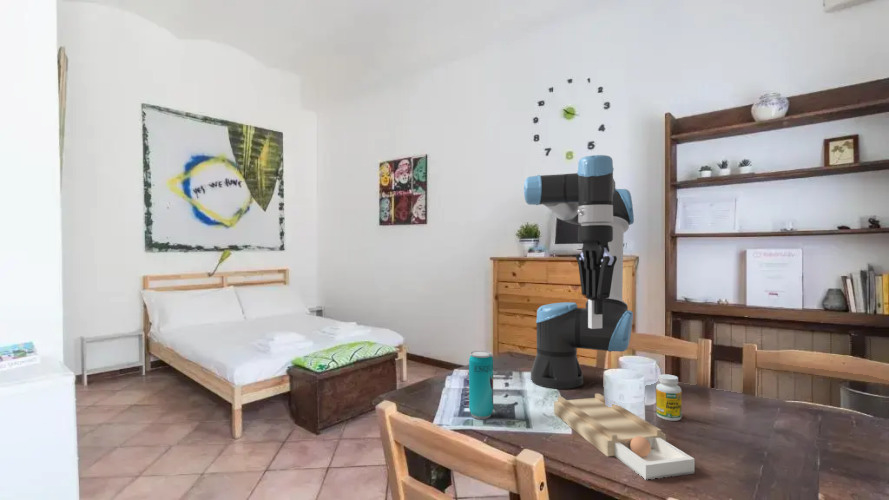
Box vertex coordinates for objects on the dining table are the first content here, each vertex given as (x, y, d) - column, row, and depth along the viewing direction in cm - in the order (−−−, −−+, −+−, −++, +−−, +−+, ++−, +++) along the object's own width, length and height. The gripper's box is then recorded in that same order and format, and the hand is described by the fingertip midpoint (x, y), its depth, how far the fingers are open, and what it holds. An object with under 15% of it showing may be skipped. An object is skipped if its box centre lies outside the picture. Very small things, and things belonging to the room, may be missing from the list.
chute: (554, 413, 106) (554, 397, 106) (602, 409, 109) (602, 393, 109) (607, 456, 84) (607, 436, 84) (665, 449, 87) (665, 429, 87)
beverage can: (494, 420, 102) (494, 356, 102) (469, 420, 102) (469, 356, 102) (492, 411, 108) (492, 350, 107) (468, 410, 108) (468, 350, 107)
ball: (641, 455, 81) (630, 459, 84) (657, 453, 82) (647, 457, 85) (633, 434, 83) (624, 439, 86) (650, 433, 84) (640, 438, 87)
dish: (611, 453, 86) (611, 440, 86) (655, 447, 88) (655, 435, 88) (645, 480, 76) (645, 465, 76) (694, 473, 78) (694, 458, 78)
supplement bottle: (671, 411, 107) (671, 372, 106) (686, 420, 101) (687, 379, 101) (651, 413, 106) (651, 373, 106) (665, 422, 101) (665, 380, 100)
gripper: (566, 225, 105) (566, 323, 106) (596, 223, 92) (596, 334, 93) (593, 225, 107) (593, 321, 107) (627, 223, 94) (627, 332, 95)
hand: (595, 327), depth 100 cm, fingers closed
